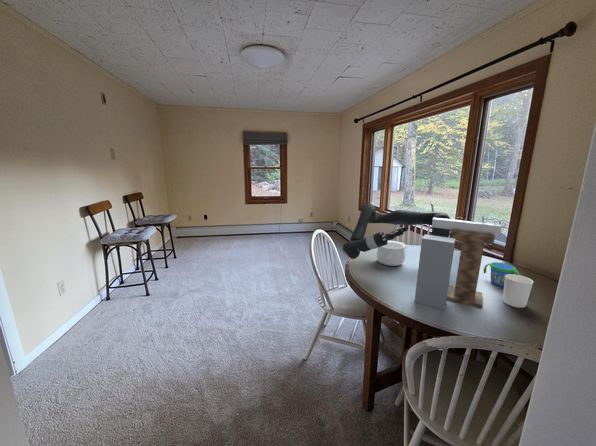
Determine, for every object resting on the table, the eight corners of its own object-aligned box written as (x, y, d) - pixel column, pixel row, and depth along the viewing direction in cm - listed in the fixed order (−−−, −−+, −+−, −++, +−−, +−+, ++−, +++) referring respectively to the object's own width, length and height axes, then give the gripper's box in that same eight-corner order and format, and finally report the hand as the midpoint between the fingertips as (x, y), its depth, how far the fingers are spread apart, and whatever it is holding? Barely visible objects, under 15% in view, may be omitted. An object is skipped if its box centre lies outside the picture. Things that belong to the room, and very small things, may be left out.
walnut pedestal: (440, 297, 123) (450, 231, 116) (443, 286, 135) (452, 225, 128) (481, 308, 115) (494, 237, 108) (481, 295, 126) (493, 230, 119)
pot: (384, 255, 180) (385, 238, 178) (410, 261, 169) (412, 243, 167) (369, 264, 164) (370, 245, 162) (396, 271, 153) (398, 251, 150)
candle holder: (494, 298, 124) (499, 274, 121) (514, 297, 125) (519, 273, 122) (513, 309, 114) (518, 283, 112) (534, 308, 115) (539, 283, 113)
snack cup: (522, 288, 134) (526, 269, 132) (511, 292, 130) (515, 273, 127) (489, 276, 148) (492, 259, 146) (477, 280, 143) (481, 262, 141)
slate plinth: (414, 301, 120) (422, 238, 113) (417, 294, 126) (425, 234, 120) (444, 310, 113) (454, 243, 107) (446, 302, 120) (455, 238, 113)
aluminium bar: (431, 227, 125) (432, 218, 124) (432, 225, 128) (433, 217, 127) (500, 235, 111) (501, 226, 110) (499, 233, 114) (501, 224, 113)
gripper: (369, 237, 139) (398, 226, 129) (377, 231, 150) (404, 221, 141) (375, 250, 138) (405, 240, 129) (383, 243, 150) (411, 233, 140)
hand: (404, 230), depth 135 cm, fingers open, 8 cm apart
